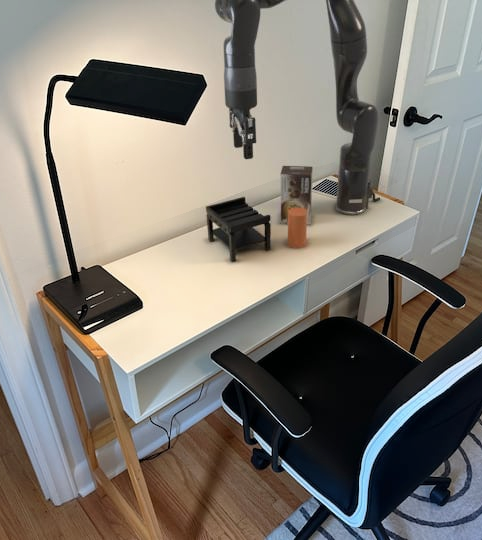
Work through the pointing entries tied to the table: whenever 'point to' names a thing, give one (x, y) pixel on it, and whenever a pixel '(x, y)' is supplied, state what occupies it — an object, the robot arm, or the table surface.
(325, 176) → the table surface
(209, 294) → the table surface
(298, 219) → the orange-brown cylinder
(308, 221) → the coffee box
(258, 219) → the rack
